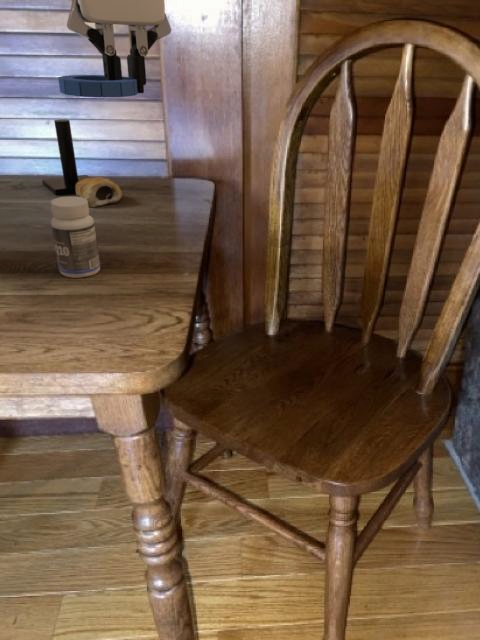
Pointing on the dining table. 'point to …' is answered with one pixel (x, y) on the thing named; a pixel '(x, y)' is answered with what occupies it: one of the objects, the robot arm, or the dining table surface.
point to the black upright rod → (65, 162)
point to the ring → (97, 86)
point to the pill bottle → (74, 237)
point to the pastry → (98, 191)
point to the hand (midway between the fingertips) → (126, 90)
